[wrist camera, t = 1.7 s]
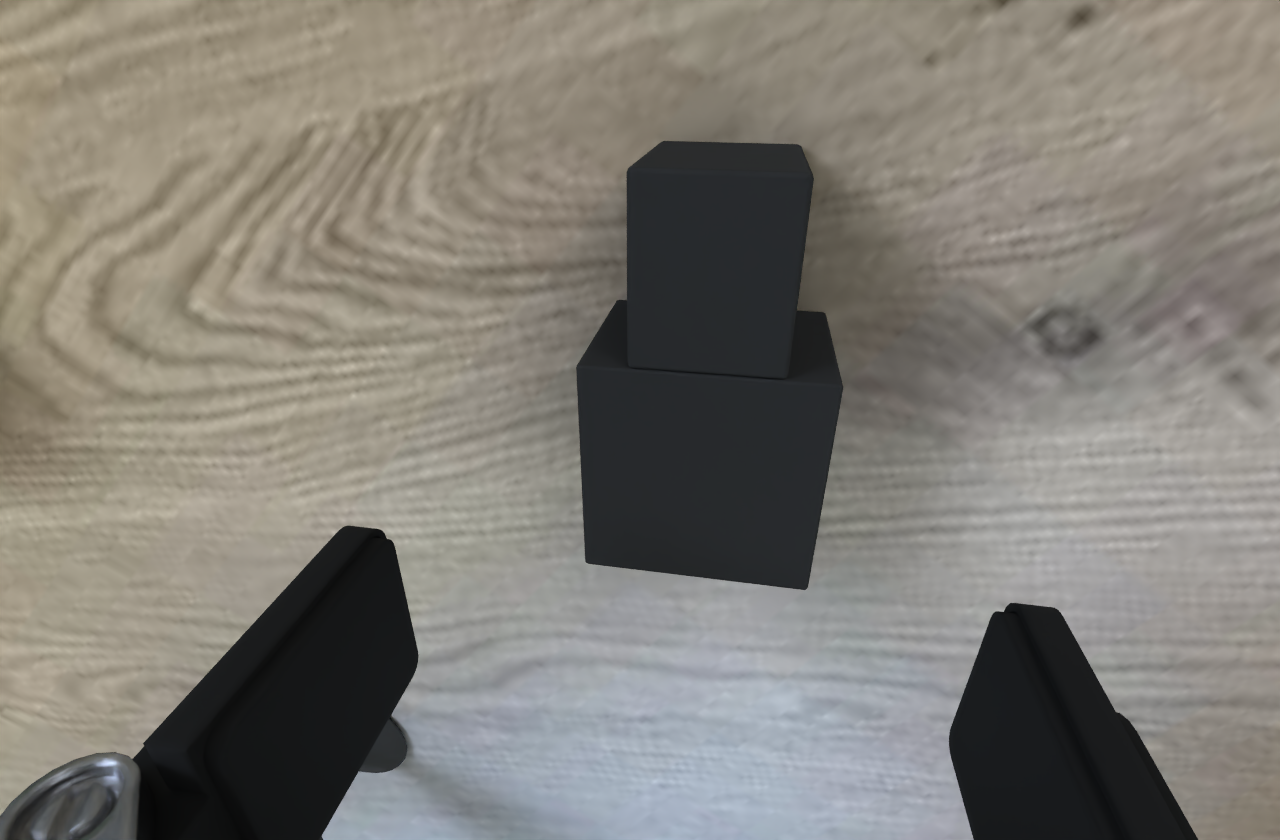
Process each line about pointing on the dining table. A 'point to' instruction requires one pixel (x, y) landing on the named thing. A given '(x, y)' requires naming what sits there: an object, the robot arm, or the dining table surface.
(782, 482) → the pad
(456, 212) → the dining table surface
